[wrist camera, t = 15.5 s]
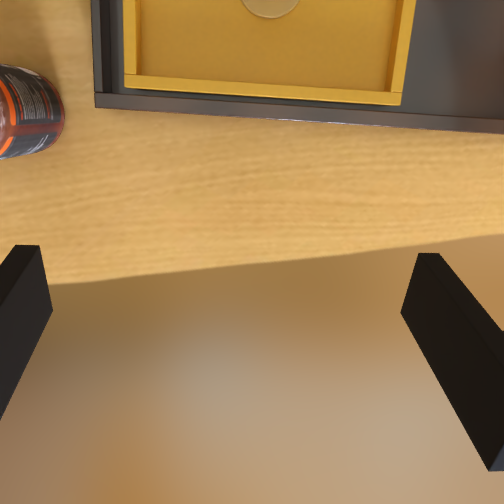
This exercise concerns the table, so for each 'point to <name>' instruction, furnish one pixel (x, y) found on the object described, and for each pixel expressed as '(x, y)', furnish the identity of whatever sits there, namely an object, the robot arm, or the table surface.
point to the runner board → (402, 116)
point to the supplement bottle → (27, 112)
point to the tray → (270, 48)
